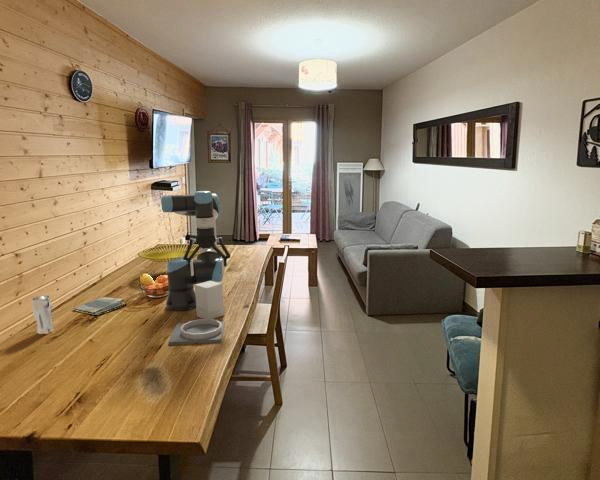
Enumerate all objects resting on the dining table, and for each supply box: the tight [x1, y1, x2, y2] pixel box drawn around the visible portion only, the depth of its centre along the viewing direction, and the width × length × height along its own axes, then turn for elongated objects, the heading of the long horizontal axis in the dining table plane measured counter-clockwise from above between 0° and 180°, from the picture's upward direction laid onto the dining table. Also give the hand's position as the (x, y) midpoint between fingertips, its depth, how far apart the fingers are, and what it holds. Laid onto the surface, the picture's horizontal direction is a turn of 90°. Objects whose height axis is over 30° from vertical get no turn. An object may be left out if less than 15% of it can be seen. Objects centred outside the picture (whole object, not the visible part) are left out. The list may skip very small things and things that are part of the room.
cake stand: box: [137, 243, 200, 276], centre depth 267 cm, size 40×40×15 cm
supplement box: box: [194, 281, 225, 320], centre depth 197 cm, size 9×9×15 cm
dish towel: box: [73, 296, 128, 316], centre depth 212 cm, size 19×18×3 cm
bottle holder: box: [168, 318, 226, 346], centre depth 179 cm, size 20×19×3 cm
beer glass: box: [31, 294, 55, 334], centre depth 182 cm, size 7×7×15 cm
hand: (208, 274), depth 195 cm, fingers open, 13 cm apart
